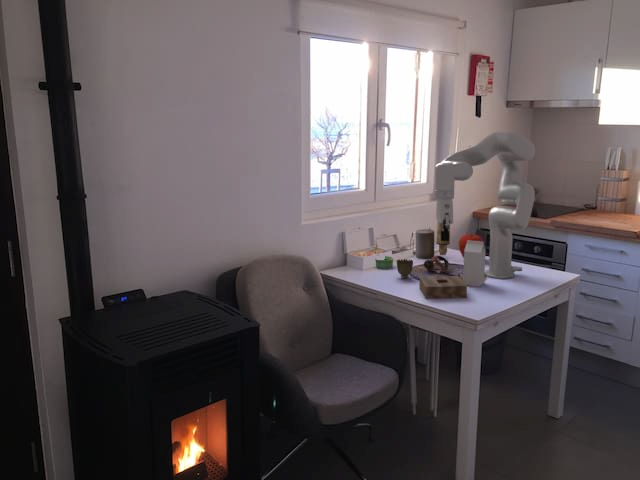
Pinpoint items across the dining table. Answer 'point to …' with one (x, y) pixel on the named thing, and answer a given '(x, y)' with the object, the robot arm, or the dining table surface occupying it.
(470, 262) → the milk carton
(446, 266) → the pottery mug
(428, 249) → the pillar candle
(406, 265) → the dark rounded textured piece
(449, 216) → the robot arm
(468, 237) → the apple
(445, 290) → the walnut block
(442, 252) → the oak peg
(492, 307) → the dining table surface
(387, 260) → the ramekin
